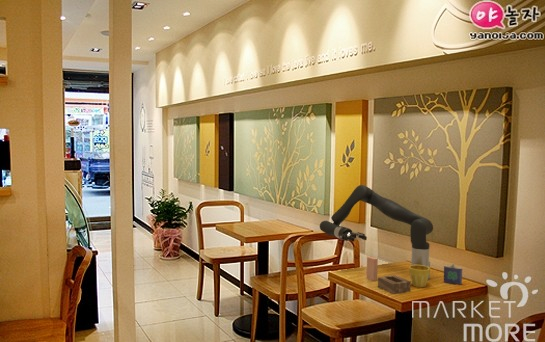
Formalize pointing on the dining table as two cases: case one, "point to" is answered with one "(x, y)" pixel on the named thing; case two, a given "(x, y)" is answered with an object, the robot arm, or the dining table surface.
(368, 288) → the dining table surface
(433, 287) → the dining table surface
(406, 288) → the walnut frame
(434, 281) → the dining table surface
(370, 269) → the tall pink pillar
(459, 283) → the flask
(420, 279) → the plant pot
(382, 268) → the dining table surface
